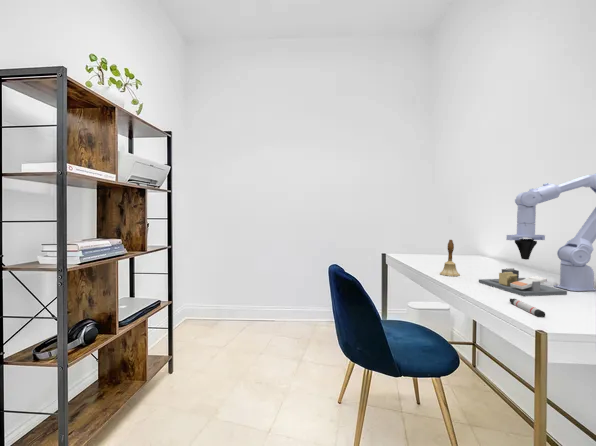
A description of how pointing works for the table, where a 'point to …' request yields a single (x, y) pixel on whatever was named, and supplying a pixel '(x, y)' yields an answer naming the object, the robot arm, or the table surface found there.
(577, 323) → the table surface
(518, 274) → the black slider
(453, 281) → the table surface
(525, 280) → the rocker
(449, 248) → the hand bell
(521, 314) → the table surface
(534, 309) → the marker
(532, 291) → the panel
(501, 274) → the brass slider
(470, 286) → the table surface
